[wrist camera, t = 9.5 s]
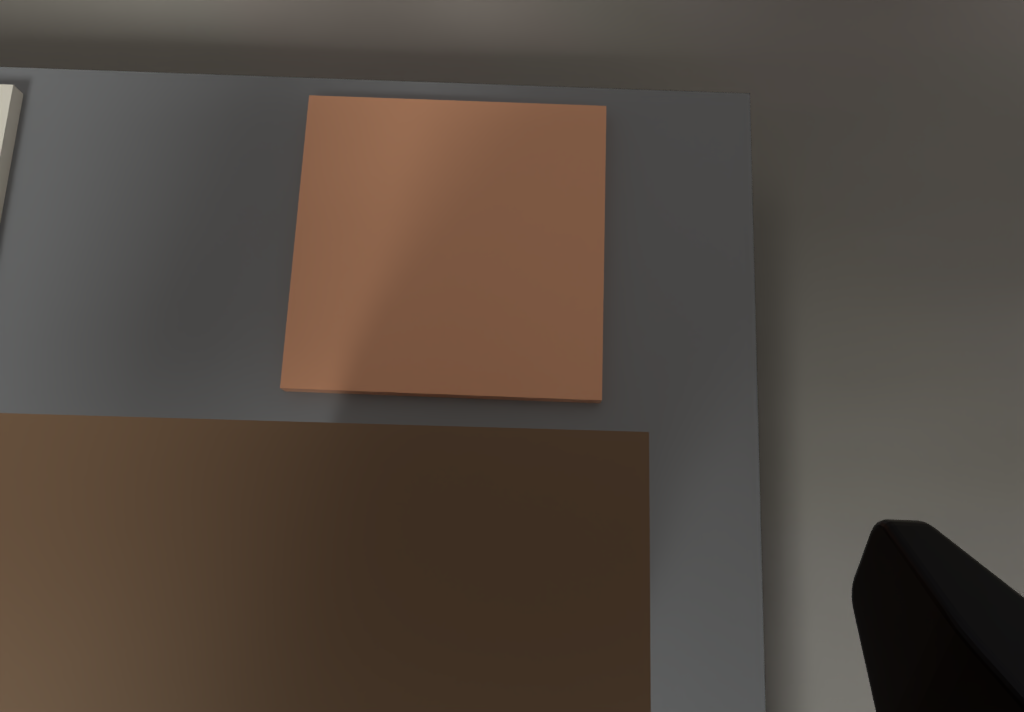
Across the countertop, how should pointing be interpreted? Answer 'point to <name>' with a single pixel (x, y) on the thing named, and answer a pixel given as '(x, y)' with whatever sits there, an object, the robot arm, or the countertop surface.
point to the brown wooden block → (321, 567)
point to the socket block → (411, 286)
